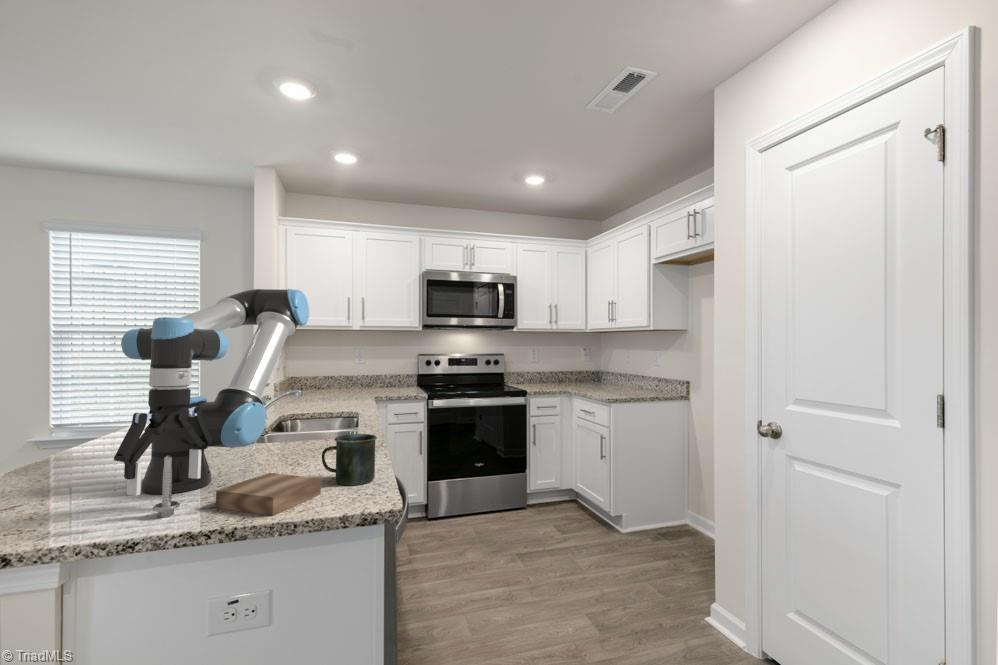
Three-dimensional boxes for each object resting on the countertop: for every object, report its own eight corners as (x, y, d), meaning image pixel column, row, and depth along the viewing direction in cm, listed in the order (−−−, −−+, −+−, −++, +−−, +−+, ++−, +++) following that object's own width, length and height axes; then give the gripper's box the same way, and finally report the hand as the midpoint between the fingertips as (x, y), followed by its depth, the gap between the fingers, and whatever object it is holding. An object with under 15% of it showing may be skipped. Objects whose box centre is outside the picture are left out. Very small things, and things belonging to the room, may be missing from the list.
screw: (153, 514, 102) (179, 510, 105) (151, 521, 98) (179, 516, 101) (155, 454, 103) (181, 452, 105) (153, 458, 99) (181, 456, 101)
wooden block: (215, 508, 107) (216, 490, 107) (268, 488, 122) (269, 472, 122) (272, 515, 102) (273, 497, 102) (320, 494, 117) (320, 478, 117)
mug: (379, 483, 127) (380, 439, 127) (322, 490, 121) (323, 443, 121) (372, 473, 137) (373, 432, 137) (319, 479, 130) (320, 436, 131)
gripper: (122, 392, 89) (116, 504, 88) (231, 384, 113) (227, 473, 112) (94, 391, 92) (89, 500, 91) (207, 384, 115) (203, 470, 114)
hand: (165, 485), depth 101 cm, fingers open, 13 cm apart
